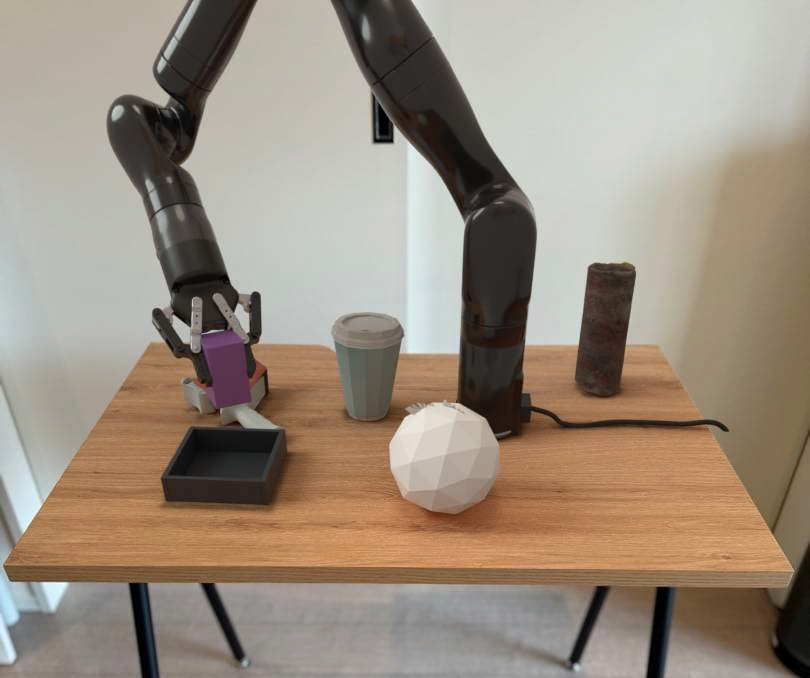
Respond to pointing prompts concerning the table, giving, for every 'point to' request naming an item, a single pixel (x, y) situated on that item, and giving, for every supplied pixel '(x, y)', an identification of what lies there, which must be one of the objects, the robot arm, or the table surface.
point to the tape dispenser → (241, 412)
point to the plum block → (226, 368)
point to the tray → (225, 466)
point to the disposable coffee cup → (367, 361)
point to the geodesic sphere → (444, 457)
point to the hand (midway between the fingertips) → (230, 380)
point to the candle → (604, 327)
